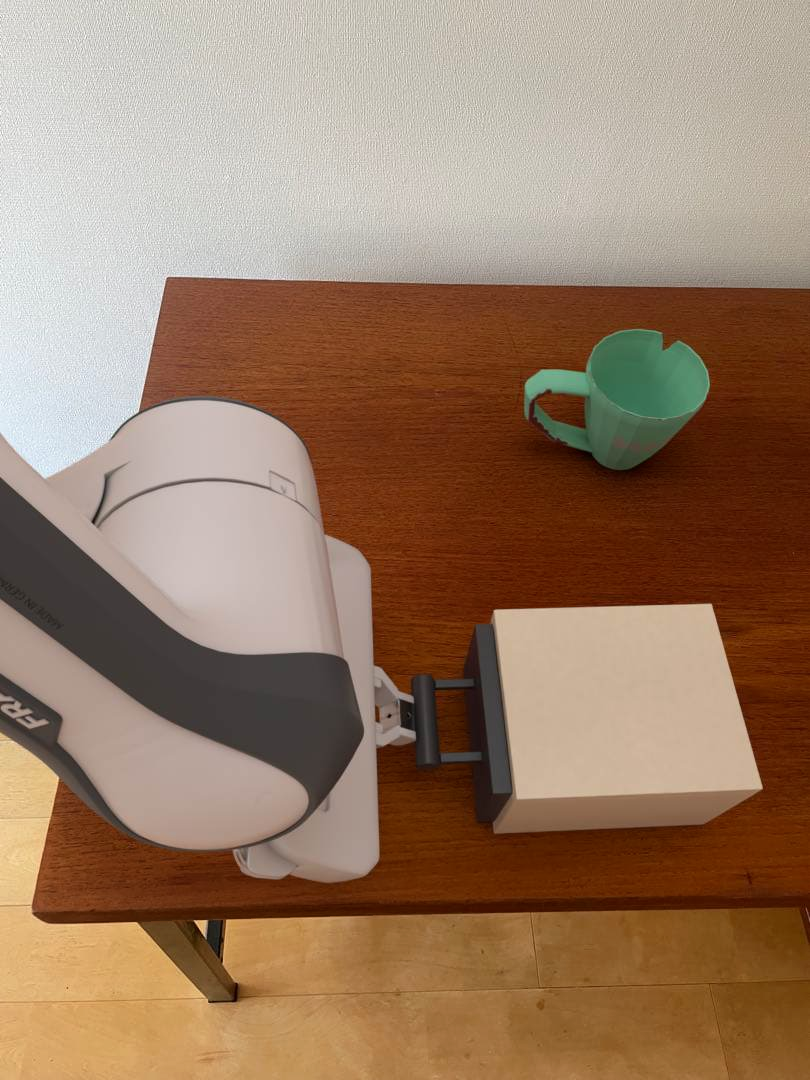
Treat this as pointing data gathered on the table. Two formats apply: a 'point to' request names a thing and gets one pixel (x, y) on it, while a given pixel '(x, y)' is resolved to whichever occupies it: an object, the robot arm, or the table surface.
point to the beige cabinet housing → (619, 718)
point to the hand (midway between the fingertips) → (407, 721)
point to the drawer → (470, 725)
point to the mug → (624, 397)
